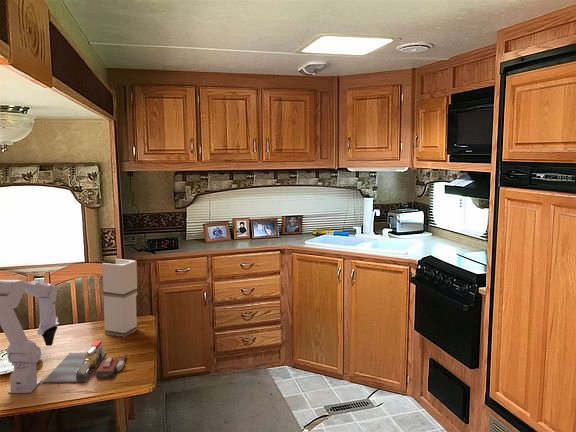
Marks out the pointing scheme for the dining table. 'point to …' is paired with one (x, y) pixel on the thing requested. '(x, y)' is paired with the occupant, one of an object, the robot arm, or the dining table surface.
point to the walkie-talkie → (109, 367)
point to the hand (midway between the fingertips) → (49, 345)
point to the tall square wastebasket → (120, 297)
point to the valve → (89, 363)
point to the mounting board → (69, 369)
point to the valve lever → (94, 347)
